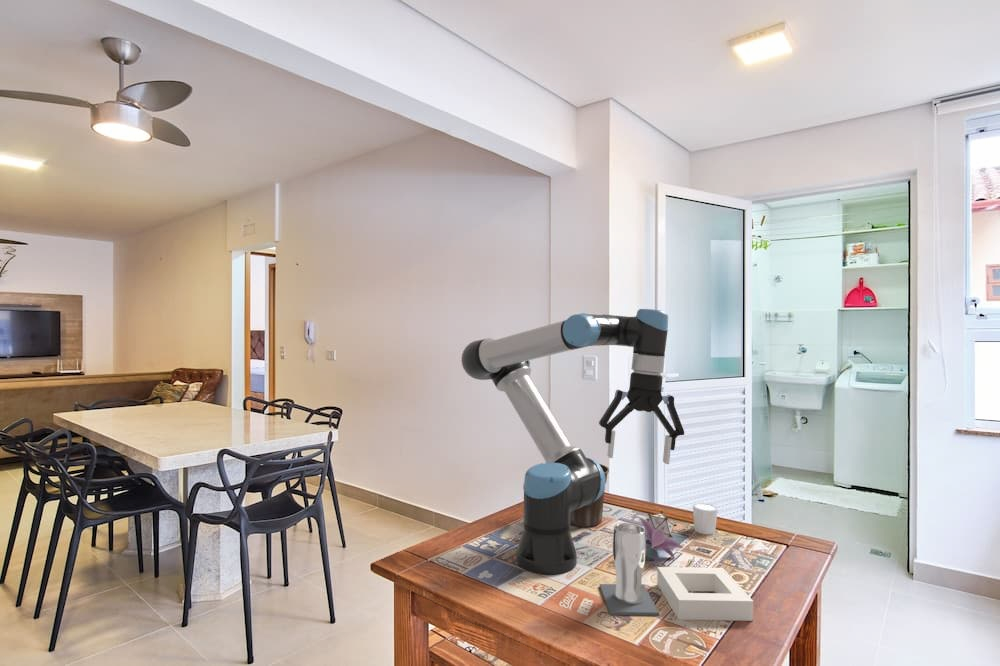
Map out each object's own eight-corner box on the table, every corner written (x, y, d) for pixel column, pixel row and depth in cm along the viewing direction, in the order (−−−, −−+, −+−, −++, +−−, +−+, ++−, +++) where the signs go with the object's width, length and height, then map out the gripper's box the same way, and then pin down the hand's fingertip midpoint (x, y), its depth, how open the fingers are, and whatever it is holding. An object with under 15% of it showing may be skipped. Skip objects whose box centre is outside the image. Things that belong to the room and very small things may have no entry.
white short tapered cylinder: (714, 537, 153) (715, 512, 153) (689, 531, 157) (690, 507, 156) (719, 529, 159) (719, 505, 159) (695, 524, 162) (695, 501, 162)
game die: (665, 557, 147) (683, 536, 142) (636, 546, 148) (653, 524, 142) (664, 531, 155) (681, 510, 150) (636, 520, 155) (652, 498, 150)
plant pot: (571, 533, 154) (572, 477, 154) (544, 515, 169) (545, 463, 169) (619, 526, 160) (619, 471, 160) (589, 508, 175) (590, 459, 175)
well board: (678, 619, 109) (679, 600, 109) (657, 584, 124) (657, 566, 124) (753, 620, 109) (753, 601, 109) (722, 585, 124) (723, 567, 124)
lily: (685, 574, 132) (692, 534, 135) (642, 557, 130) (651, 518, 134) (659, 569, 143) (667, 532, 146) (619, 553, 141) (628, 517, 145)
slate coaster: (610, 614, 111) (610, 611, 111) (599, 586, 123) (599, 583, 123) (659, 615, 111) (659, 612, 111) (643, 587, 123) (643, 584, 123)
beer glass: (651, 597, 117) (652, 528, 116) (634, 609, 112) (635, 537, 111) (623, 586, 122) (624, 520, 121) (605, 597, 117) (606, 528, 116)
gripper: (693, 377, 135) (684, 461, 135) (593, 366, 135) (584, 451, 136) (703, 379, 128) (694, 469, 128) (598, 368, 128) (589, 457, 128)
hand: (637, 460), depth 132 cm, fingers open, 13 cm apart
